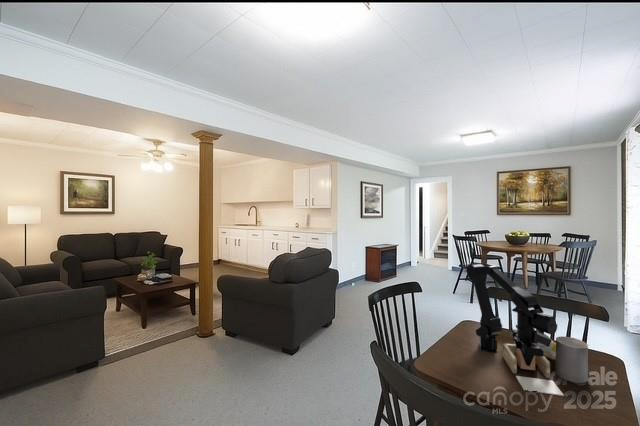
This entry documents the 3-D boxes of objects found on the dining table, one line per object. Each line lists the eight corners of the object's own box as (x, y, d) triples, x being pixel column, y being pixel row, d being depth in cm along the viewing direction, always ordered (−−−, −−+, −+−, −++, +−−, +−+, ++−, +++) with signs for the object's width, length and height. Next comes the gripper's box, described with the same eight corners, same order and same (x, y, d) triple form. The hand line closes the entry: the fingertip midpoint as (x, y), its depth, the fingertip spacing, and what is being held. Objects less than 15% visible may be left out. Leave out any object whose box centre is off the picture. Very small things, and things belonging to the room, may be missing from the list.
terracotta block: (520, 368, 120) (520, 353, 120) (516, 362, 125) (516, 348, 125) (535, 370, 119) (535, 355, 119) (530, 364, 124) (530, 349, 124)
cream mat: (524, 390, 107) (524, 389, 107) (515, 376, 116) (515, 375, 116) (564, 396, 104) (564, 395, 104) (552, 381, 112) (552, 380, 112)
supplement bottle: (555, 340, 131) (542, 329, 126) (566, 354, 126) (552, 343, 121) (540, 347, 134) (527, 336, 129) (550, 361, 129) (537, 351, 124)
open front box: (513, 373, 118) (513, 358, 118) (503, 356, 131) (503, 343, 131) (550, 378, 114) (549, 362, 114) (535, 360, 128) (535, 346, 127)
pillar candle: (552, 367, 122) (552, 331, 122) (583, 372, 118) (583, 335, 117) (558, 379, 113) (558, 341, 113) (592, 386, 109) (592, 346, 109)
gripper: (559, 336, 110) (559, 378, 111) (539, 318, 128) (539, 354, 129) (525, 333, 114) (525, 373, 114) (509, 316, 132) (509, 351, 132)
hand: (525, 362), depth 122 cm, fingers closed on terracotta block, 5 cm apart
